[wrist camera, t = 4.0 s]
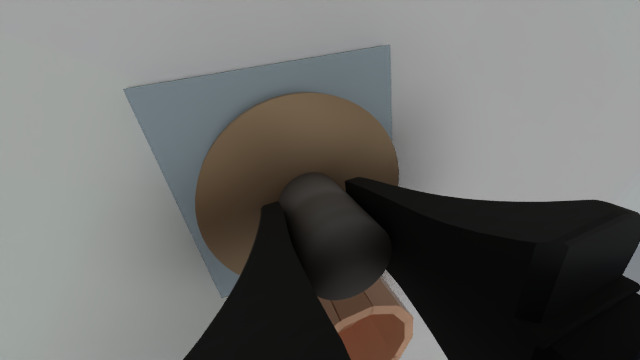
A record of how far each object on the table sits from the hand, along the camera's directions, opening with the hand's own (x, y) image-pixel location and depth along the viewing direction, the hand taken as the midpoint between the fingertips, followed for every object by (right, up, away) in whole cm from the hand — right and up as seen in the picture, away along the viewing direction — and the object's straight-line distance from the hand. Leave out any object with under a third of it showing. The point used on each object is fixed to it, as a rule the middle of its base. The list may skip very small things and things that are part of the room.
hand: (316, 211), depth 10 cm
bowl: (+1, -7, +8) cm, 11 cm away
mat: (-1, +1, +3) cm, 3 cm away
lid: (0, +1, +1) cm, 1 cm away
